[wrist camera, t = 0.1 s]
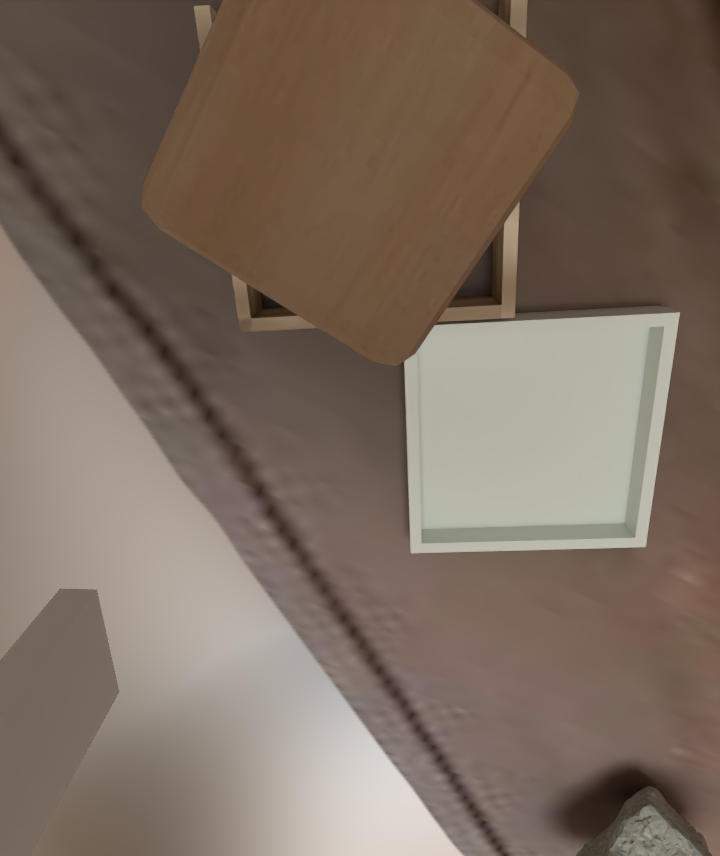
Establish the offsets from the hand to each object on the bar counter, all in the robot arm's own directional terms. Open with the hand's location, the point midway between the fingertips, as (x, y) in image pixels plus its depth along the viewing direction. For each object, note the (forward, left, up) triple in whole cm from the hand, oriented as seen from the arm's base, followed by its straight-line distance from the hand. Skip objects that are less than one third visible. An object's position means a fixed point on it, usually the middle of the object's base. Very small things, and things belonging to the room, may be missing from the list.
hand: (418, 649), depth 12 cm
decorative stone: (+45, +19, -29) cm, 57 cm away
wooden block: (-10, -1, -29) cm, 30 cm away
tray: (+7, +9, -28) cm, 31 cm away
